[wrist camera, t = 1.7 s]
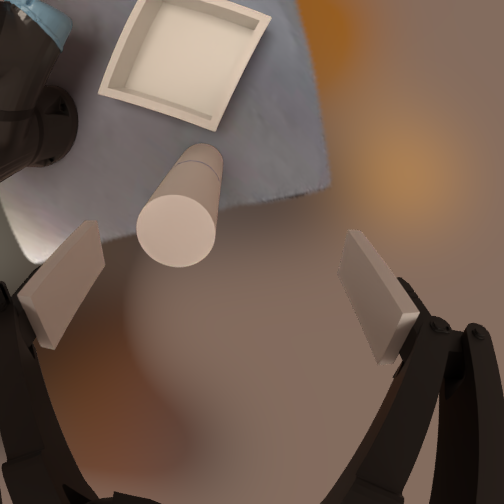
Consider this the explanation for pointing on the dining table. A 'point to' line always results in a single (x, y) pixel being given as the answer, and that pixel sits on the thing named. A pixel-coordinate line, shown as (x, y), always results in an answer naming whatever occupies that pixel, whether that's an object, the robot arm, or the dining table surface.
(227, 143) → the dining table surface
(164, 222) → the cylindrical container
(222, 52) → the beige bin
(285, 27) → the dining table surface
